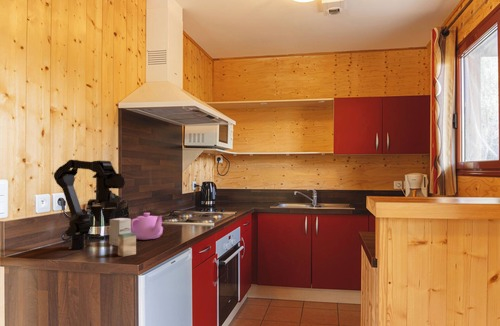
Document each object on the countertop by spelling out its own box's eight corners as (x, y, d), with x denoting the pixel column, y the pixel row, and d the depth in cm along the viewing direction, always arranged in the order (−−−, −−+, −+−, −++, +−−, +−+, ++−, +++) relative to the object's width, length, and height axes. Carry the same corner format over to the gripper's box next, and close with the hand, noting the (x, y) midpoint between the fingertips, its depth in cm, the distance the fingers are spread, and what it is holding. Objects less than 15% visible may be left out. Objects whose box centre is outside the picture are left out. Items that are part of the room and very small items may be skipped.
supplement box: (118, 246, 176) (119, 220, 176) (108, 244, 180) (109, 219, 180) (130, 243, 182) (131, 218, 183) (121, 242, 186) (121, 217, 186)
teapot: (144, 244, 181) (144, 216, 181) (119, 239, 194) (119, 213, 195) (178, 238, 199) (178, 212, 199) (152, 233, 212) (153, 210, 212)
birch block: (118, 254, 158) (118, 234, 158) (130, 252, 163) (130, 232, 163) (123, 256, 155) (123, 235, 155) (135, 254, 160) (136, 233, 160)
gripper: (129, 188, 165) (128, 222, 164) (110, 186, 178) (110, 218, 177) (105, 189, 157) (104, 225, 156) (87, 187, 170) (86, 221, 169)
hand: (102, 222), depth 165 cm, fingers open, 9 cm apart
